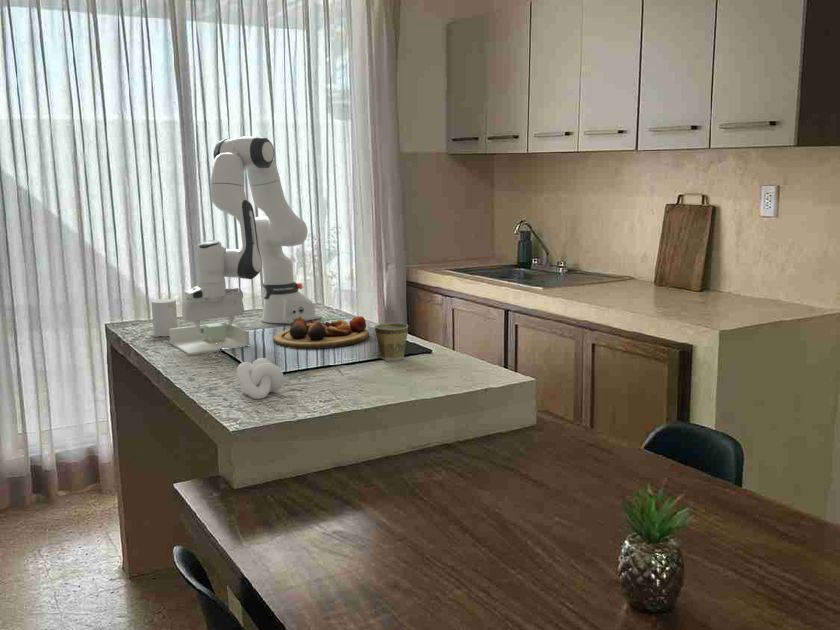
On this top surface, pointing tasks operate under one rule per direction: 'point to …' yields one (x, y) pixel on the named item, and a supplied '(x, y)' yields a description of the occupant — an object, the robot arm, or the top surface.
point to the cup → (164, 316)
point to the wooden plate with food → (322, 334)
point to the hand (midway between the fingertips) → (214, 331)
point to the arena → (197, 343)
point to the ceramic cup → (391, 340)
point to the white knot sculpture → (259, 378)
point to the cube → (215, 332)
